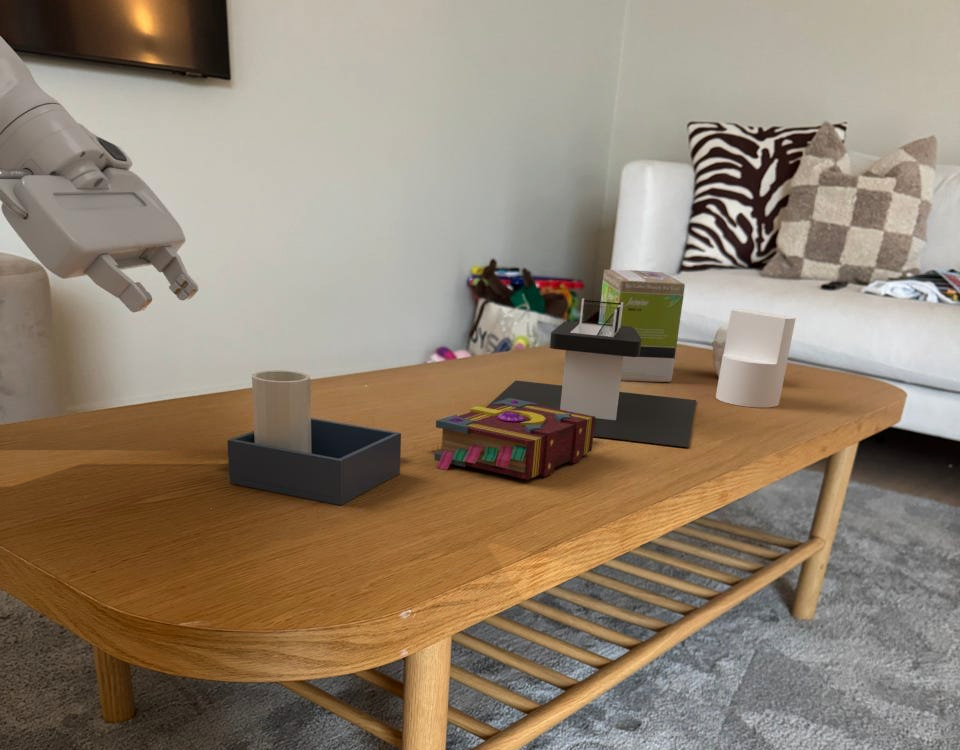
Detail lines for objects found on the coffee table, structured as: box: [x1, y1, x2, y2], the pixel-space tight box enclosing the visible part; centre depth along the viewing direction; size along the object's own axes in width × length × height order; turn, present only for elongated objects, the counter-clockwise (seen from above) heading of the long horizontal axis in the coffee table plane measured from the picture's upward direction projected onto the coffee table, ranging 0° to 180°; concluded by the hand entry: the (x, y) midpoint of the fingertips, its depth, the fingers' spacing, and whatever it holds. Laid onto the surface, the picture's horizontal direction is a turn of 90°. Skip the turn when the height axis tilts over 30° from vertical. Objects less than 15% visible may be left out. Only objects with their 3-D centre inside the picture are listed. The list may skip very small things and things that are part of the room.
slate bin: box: [227, 417, 402, 506], centre depth 91 cm, size 12×12×4 cm
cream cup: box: [251, 369, 312, 453], centre depth 89 cm, size 5×5×9 cm
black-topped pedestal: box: [486, 298, 697, 448], centre depth 123 cm, size 28×26×13 cm
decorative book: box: [434, 398, 595, 481], centre depth 101 cm, size 11×16×5 cm
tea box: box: [598, 269, 686, 383], centre depth 150 cm, size 15×10×15 cm, turn 3°
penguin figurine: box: [711, 320, 729, 377], centre depth 152 cm, size 6×8×12 cm
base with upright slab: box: [715, 308, 797, 409], centre depth 136 cm, size 9×9×12 cm
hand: (169, 300), depth 85 cm, fingers open, 8 cm apart
